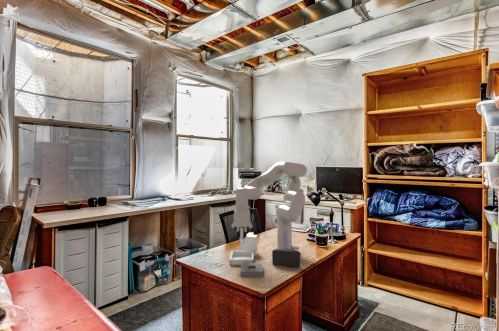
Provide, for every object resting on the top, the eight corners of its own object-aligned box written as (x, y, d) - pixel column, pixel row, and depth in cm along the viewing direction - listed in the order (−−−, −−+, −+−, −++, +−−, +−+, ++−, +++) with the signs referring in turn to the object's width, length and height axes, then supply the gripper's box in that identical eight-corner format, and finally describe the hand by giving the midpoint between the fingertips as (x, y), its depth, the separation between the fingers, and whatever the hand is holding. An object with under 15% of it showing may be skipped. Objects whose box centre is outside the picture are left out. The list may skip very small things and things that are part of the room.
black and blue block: (300, 265, 164) (300, 249, 164) (300, 268, 160) (300, 251, 160) (273, 263, 168) (273, 247, 168) (272, 265, 163) (272, 249, 163)
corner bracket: (255, 255, 180) (255, 237, 180) (238, 254, 183) (238, 236, 182) (258, 250, 191) (258, 232, 190) (242, 249, 193) (242, 232, 193)
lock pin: (244, 242, 172) (244, 228, 172) (244, 244, 169) (244, 229, 169) (239, 242, 172) (239, 228, 172) (239, 244, 169) (239, 229, 169)
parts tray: (253, 256, 179) (253, 250, 179) (253, 266, 163) (253, 259, 163) (231, 256, 179) (231, 250, 179) (229, 266, 163) (229, 259, 163)
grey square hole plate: (262, 268, 160) (262, 263, 160) (263, 277, 148) (263, 271, 148) (241, 268, 160) (241, 262, 160) (240, 277, 148) (240, 271, 148)
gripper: (255, 207, 174) (255, 236, 174) (229, 206, 174) (228, 236, 174) (255, 209, 166) (255, 239, 166) (228, 208, 166) (227, 239, 167)
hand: (241, 237), depth 170 cm, fingers closed on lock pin, 3 cm apart
